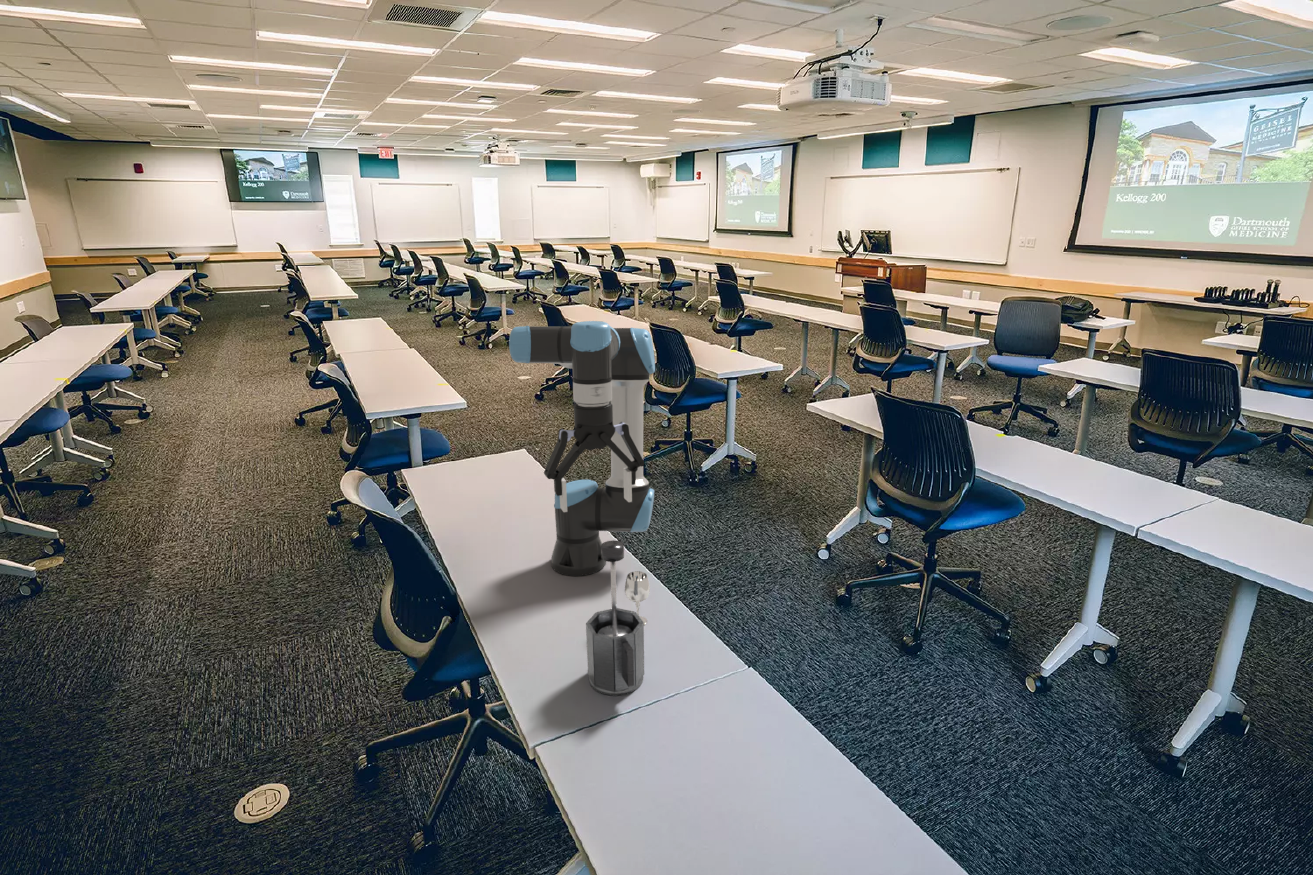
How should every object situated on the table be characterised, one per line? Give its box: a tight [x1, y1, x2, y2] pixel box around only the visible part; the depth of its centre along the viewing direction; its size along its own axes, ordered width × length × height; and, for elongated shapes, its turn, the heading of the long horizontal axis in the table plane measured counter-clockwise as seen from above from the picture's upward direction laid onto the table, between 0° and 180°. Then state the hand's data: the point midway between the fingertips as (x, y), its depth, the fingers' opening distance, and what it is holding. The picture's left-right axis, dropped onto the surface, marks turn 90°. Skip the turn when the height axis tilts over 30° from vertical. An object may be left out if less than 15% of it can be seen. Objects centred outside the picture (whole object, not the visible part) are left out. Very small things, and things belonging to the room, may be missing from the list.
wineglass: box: [624, 570, 651, 626], centre depth 161 cm, size 6×6×12 cm
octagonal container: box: [585, 607, 645, 697], centre depth 139 cm, size 14×11×13 cm
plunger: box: [598, 540, 632, 637], centre depth 136 cm, size 7×7×21 cm
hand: (596, 504), depth 139 cm, fingers open, 13 cm apart
